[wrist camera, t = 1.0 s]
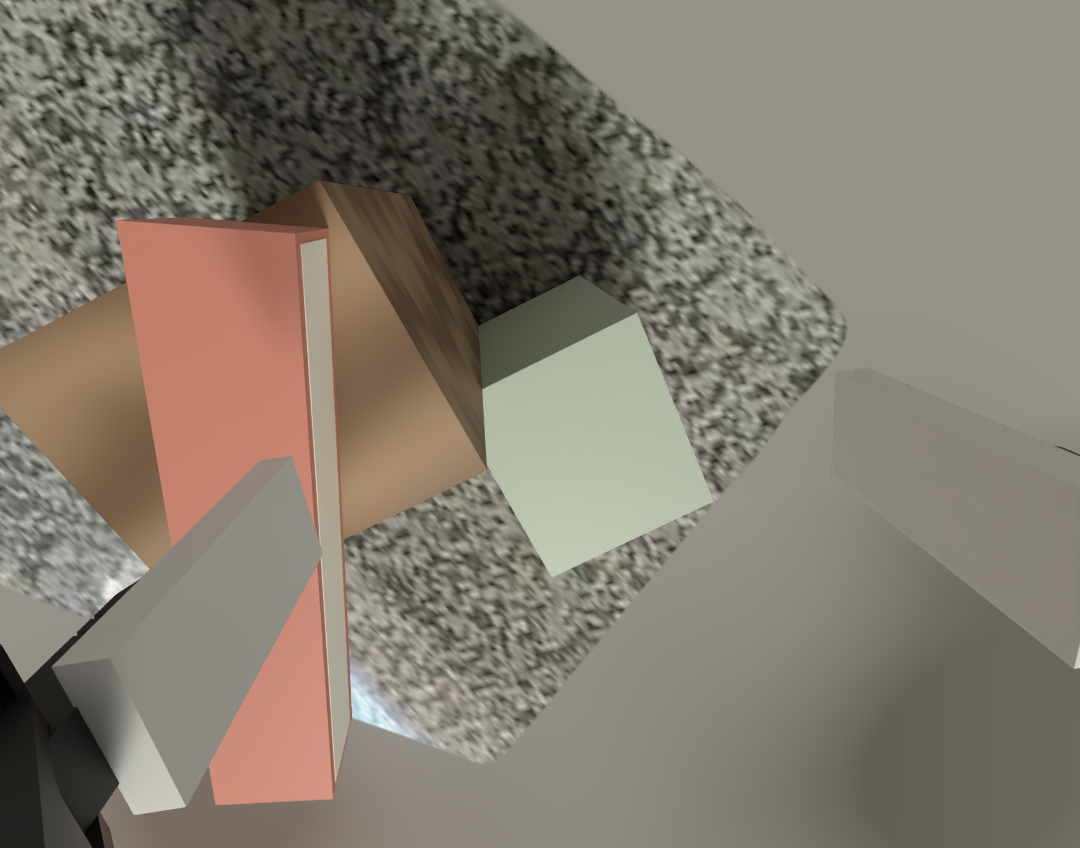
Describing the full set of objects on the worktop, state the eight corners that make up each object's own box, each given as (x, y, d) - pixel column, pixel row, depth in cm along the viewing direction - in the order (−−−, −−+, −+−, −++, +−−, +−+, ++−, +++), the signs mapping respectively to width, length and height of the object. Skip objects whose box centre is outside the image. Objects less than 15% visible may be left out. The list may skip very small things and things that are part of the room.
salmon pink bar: (352, 717, 27) (333, 798, 23) (251, 720, 26) (215, 805, 23) (329, 228, 19) (295, 233, 16) (185, 217, 19) (115, 220, 15)
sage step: (458, 335, 51) (451, 404, 34) (579, 275, 50) (637, 312, 33) (526, 461, 56) (551, 577, 39) (636, 407, 56) (713, 501, 38)
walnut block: (261, 272, 47) (-36, 368, 20) (410, 195, 47) (319, 180, 19) (341, 394, 52) (191, 613, 24) (478, 325, 51) (487, 469, 23)
